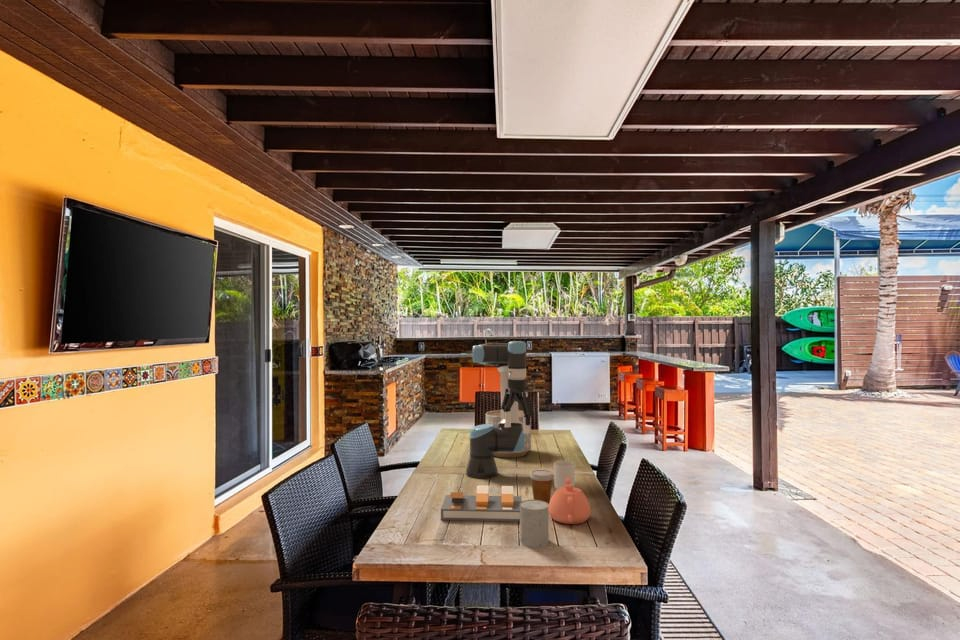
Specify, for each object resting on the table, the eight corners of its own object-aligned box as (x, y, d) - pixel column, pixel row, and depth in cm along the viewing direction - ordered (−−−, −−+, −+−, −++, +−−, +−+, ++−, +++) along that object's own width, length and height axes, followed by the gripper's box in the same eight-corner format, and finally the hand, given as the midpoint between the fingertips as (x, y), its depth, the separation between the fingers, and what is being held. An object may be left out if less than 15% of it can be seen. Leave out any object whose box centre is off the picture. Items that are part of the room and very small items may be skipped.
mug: (574, 492, 224) (574, 466, 225) (553, 491, 226) (553, 465, 226) (575, 484, 236) (575, 459, 236) (555, 483, 238) (555, 458, 238)
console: (445, 505, 209) (445, 491, 209) (521, 506, 207) (521, 493, 207) (440, 520, 192) (440, 505, 192) (522, 521, 191) (522, 507, 191)
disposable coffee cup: (555, 499, 215) (555, 470, 215) (550, 507, 206) (550, 476, 206) (532, 497, 218) (532, 468, 218) (527, 504, 209) (527, 474, 209)
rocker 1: (453, 497, 205) (453, 492, 206) (464, 498, 205) (464, 492, 205) (450, 497, 196) (450, 492, 196) (462, 498, 195) (462, 492, 196)
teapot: (547, 506, 207) (547, 475, 207) (588, 508, 205) (588, 476, 205) (548, 528, 185) (548, 492, 185) (593, 530, 183) (593, 494, 184)
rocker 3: (501, 490, 205) (501, 485, 204) (513, 490, 204) (513, 486, 204) (501, 506, 195) (501, 502, 194) (513, 506, 195) (513, 502, 194)
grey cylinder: (517, 536, 178) (517, 500, 178) (545, 535, 179) (545, 499, 179) (522, 548, 168) (522, 509, 168) (551, 547, 169) (551, 509, 169)
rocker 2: (477, 489, 205) (477, 485, 205) (488, 490, 205) (488, 485, 204) (475, 506, 196) (475, 501, 195) (487, 506, 195) (487, 501, 195)
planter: (532, 458, 281) (532, 417, 281) (485, 458, 281) (485, 417, 282) (529, 447, 307) (529, 409, 307) (485, 447, 307) (485, 409, 307)
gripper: (493, 376, 226) (493, 425, 226) (527, 382, 204) (527, 436, 204) (507, 375, 230) (507, 424, 229) (542, 381, 208) (542, 434, 208)
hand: (516, 430), depth 217 cm, fingers open, 13 cm apart
